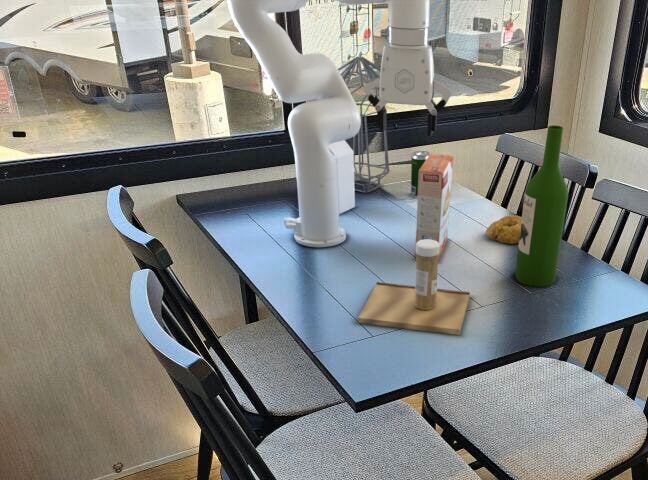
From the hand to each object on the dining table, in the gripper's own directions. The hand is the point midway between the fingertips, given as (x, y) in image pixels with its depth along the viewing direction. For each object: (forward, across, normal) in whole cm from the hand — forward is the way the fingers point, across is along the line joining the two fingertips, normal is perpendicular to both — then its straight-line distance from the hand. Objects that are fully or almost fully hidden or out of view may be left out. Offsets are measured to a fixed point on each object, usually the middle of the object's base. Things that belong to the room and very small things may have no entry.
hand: (406, 132), depth 136 cm
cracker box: (+31, +4, +14) cm, 34 cm away
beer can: (+31, -6, +51) cm, 60 cm away
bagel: (+31, +21, +26) cm, 45 cm away
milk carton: (+31, -26, +35) cm, 53 cm away
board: (+30, +6, -17) cm, 35 cm away
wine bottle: (+31, +29, +4) cm, 42 cm away
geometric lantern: (+31, -24, +54) cm, 66 cm away
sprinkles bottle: (+29, +8, -17) cm, 35 cm away
